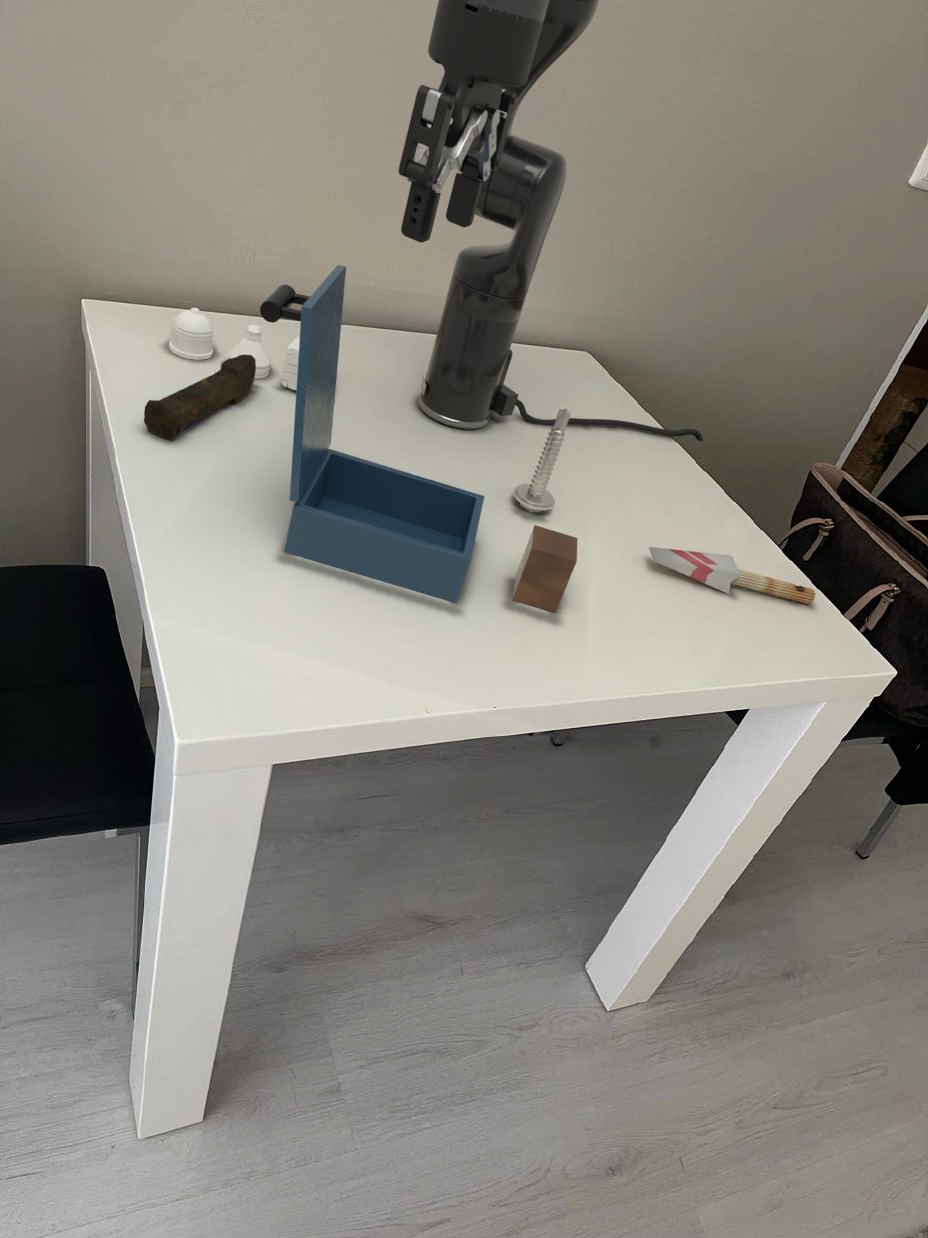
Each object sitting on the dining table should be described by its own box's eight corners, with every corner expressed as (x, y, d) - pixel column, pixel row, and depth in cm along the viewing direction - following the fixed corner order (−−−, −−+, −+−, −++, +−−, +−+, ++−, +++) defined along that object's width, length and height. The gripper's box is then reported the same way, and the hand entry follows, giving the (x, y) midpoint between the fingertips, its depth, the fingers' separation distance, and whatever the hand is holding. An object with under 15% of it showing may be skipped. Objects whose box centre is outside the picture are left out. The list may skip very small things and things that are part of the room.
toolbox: (469, 543, 100) (484, 495, 97) (454, 609, 90) (470, 559, 87) (315, 496, 99) (326, 447, 96) (282, 558, 89) (292, 506, 86)
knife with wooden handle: (653, 533, 106) (812, 578, 110) (642, 553, 108) (800, 597, 112) (659, 551, 103) (822, 597, 107) (648, 572, 105) (810, 616, 109)
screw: (502, 498, 110) (539, 501, 112) (517, 522, 107) (555, 524, 109) (537, 395, 103) (576, 400, 105) (554, 417, 99) (595, 421, 101)
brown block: (554, 594, 97) (577, 537, 93) (553, 619, 93) (577, 560, 89) (513, 582, 97) (534, 524, 93) (509, 606, 93) (532, 547, 89)
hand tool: (172, 445, 100) (177, 405, 97) (140, 429, 100) (144, 389, 98) (271, 396, 115) (277, 360, 112) (243, 383, 116) (248, 347, 113)
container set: (330, 386, 121) (338, 345, 118) (318, 401, 117) (327, 359, 114) (179, 337, 121) (183, 294, 118) (161, 350, 117) (165, 306, 113)
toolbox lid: (346, 266, 86) (289, 254, 86) (311, 308, 75) (246, 295, 75) (330, 444, 96) (279, 434, 96) (298, 502, 85) (241, 491, 86)
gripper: (483, -12, 74) (432, 204, 83) (403, -27, 63) (353, 225, 72) (572, 19, 73) (509, 235, 82) (506, 10, 61) (442, 262, 70)
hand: (436, 230), depth 77 cm, fingers open, 8 cm apart
